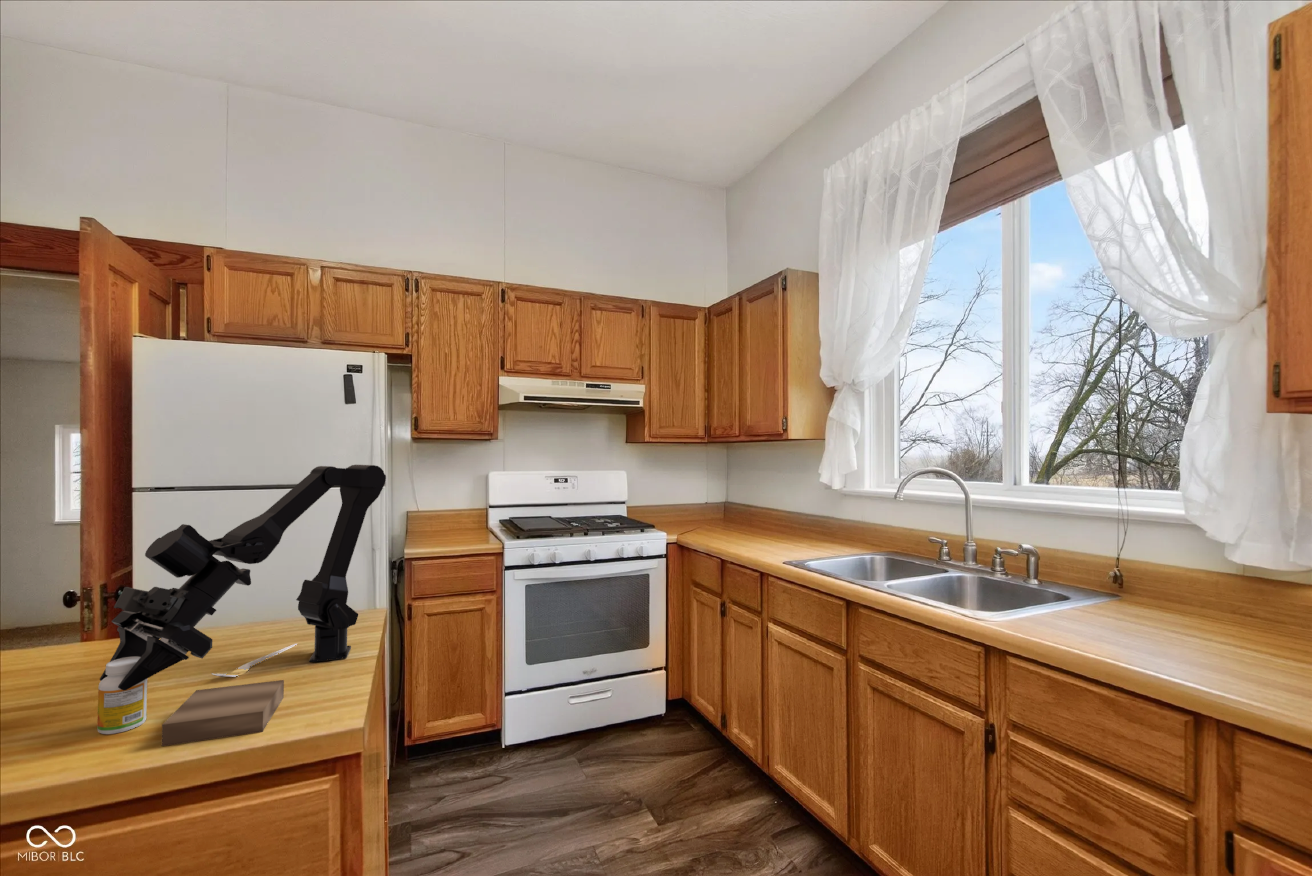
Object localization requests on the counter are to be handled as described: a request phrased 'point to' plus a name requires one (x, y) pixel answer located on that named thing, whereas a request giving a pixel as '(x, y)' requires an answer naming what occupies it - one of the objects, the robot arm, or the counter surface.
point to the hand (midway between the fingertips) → (111, 685)
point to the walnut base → (223, 712)
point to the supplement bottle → (120, 699)
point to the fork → (256, 661)
